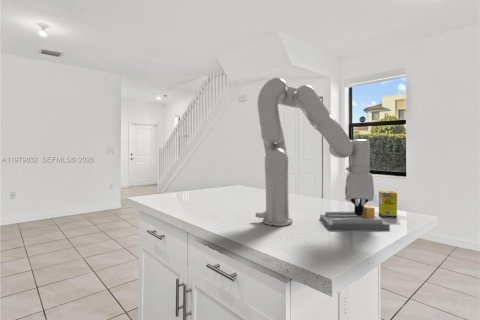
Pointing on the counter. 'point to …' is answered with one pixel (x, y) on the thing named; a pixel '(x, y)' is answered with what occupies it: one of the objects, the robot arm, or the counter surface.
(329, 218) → the breaker panel
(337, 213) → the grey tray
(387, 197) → the supplement box
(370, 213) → the block
